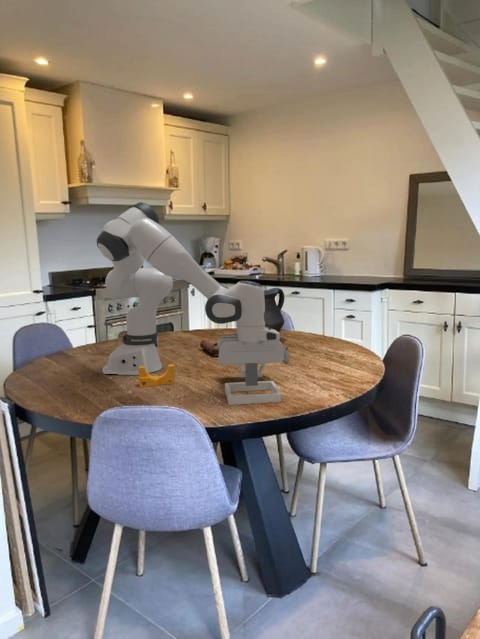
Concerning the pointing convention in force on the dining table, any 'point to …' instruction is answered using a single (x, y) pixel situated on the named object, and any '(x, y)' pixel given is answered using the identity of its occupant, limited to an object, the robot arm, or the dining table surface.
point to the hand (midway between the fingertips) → (251, 376)
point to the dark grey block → (251, 374)
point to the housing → (252, 398)
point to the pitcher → (273, 309)
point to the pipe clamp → (156, 377)
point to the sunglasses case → (210, 346)
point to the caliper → (286, 354)
